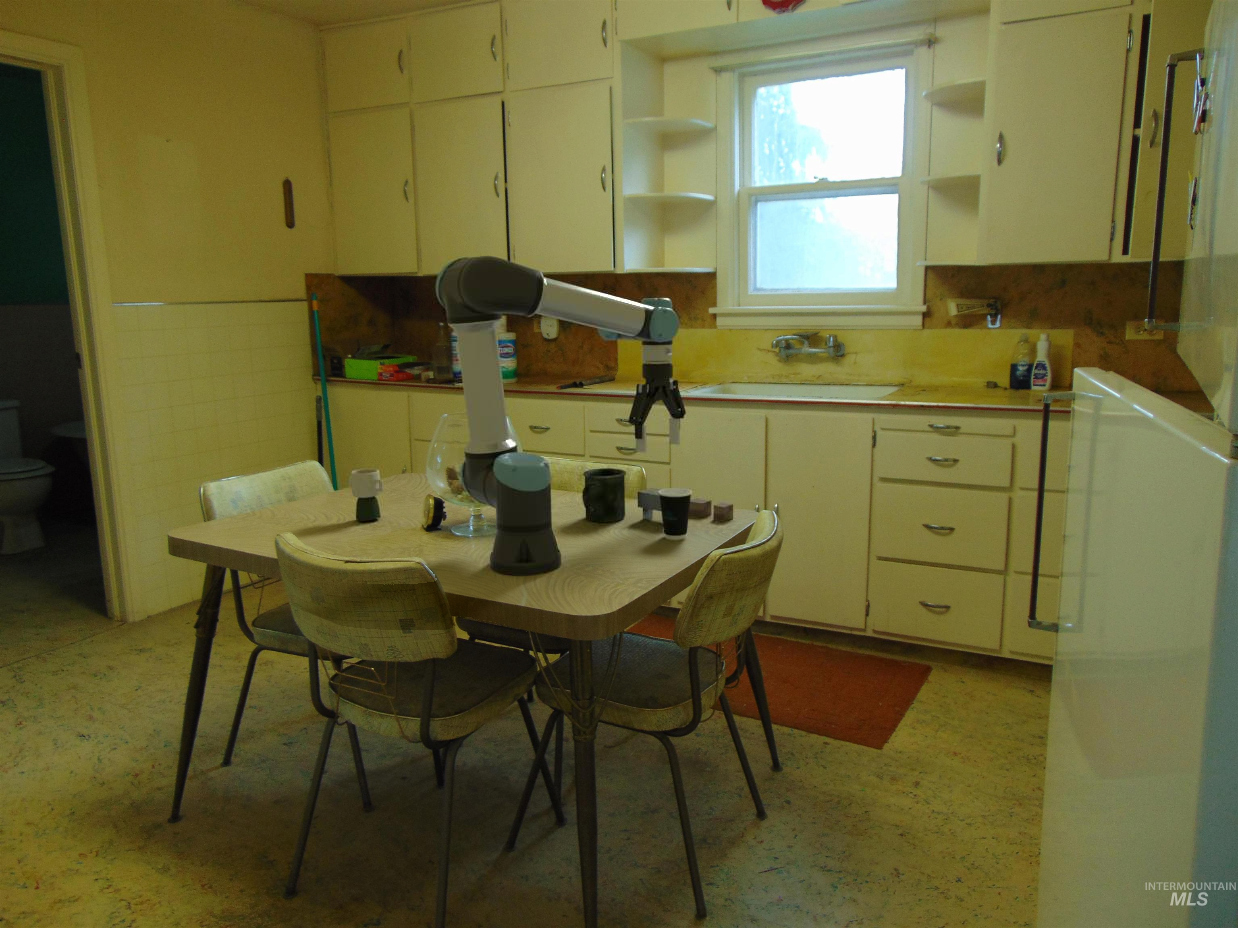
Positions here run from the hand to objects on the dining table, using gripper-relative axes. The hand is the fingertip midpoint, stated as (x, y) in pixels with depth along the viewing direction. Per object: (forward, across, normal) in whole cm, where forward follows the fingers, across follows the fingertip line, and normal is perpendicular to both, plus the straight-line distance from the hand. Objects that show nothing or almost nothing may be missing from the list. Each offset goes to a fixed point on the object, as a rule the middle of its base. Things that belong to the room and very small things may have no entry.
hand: (658, 448), depth 223 cm
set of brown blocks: (+19, +11, -5) cm, 22 cm away
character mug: (+19, -44, +61) cm, 77 cm away
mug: (+19, -7, +13) cm, 24 cm away
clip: (+19, 0, 0) cm, 19 cm away
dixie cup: (+19, -10, -12) cm, 25 cm away
